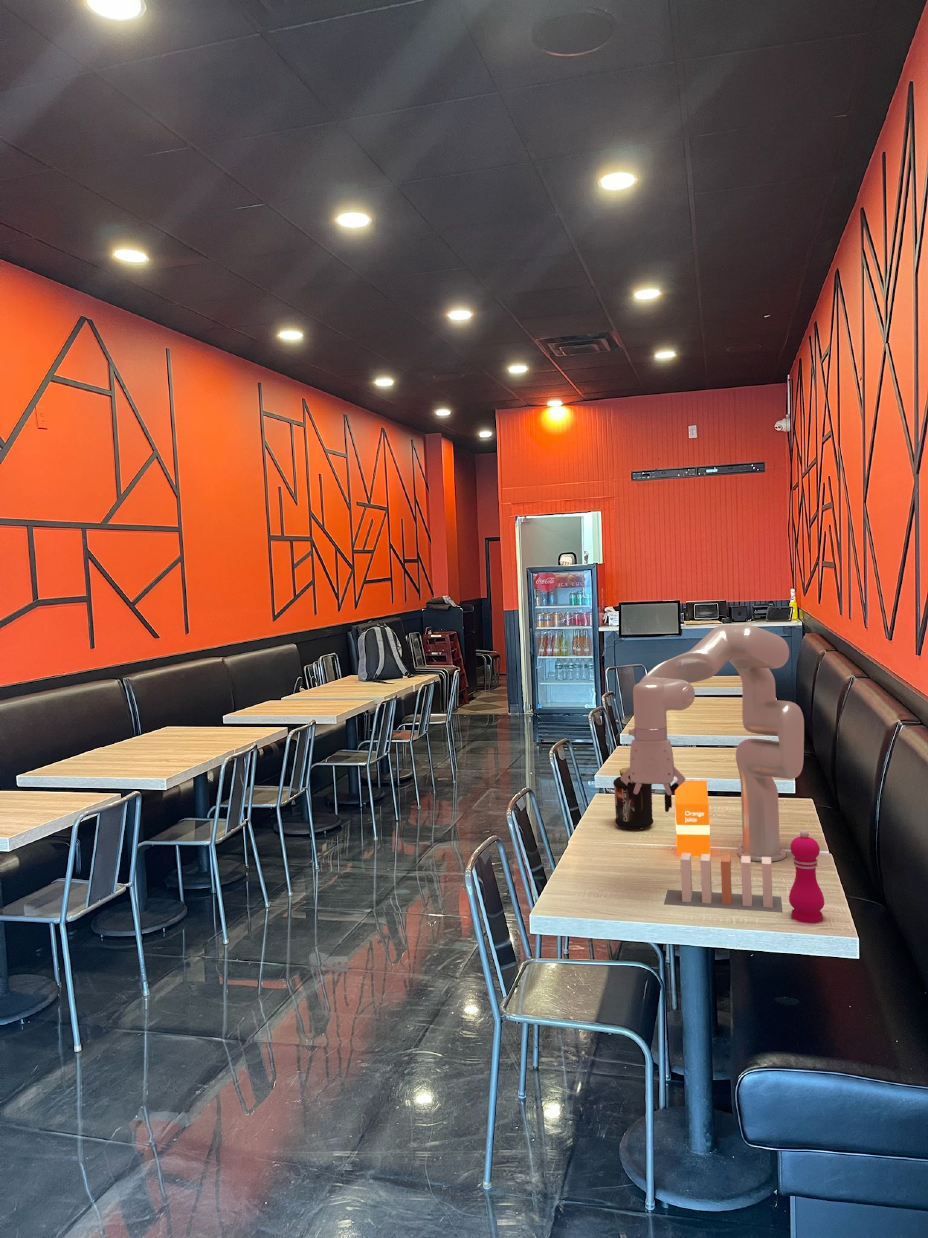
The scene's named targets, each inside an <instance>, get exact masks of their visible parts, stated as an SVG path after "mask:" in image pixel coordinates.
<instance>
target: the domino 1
mask: <svg viewBox="0 0 928 1238" xmlns="http://www.w3.org/2000/svg"><path fill="white" fill-rule="evenodd" d="M692 876H693V875H692V856H691V853H682V856H680V879H681V880H680V881H681V882H680V883H681V890H682V902H691V900H692V891H693V877H692Z"/></svg>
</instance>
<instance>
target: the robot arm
mask: <svg viewBox="0 0 928 1238" xmlns="http://www.w3.org/2000/svg"><path fill="white" fill-rule="evenodd" d="M789 657H790V649H789V645H788V643H787V640H785V639H784V638H783V637H782V636H780V635H778V634H775V633H773V632H770V631H769V630H765V629H763V628H761V627H758V626H755V625H748V624H734V625H733V624H724V625H723V624H722V625H718V626H716V627H714V628H713V629H712V630H711V631H710V632H708V633H707V634H706V635H705V636H704V637H703V638H702V639H701V640H699V642H698V643H696V645H694V646H693V647H692V648H691V649H690V650H688V651H686V652H684V653H682V654H679V655H676V656H674V657H673V658H670V659H668V660H664V661H663V662H660V663H659V664H657V665H656V666H654V667H653V668H652V669H650V671H648V672H647V673H646V674H645V675H644V676H643V677H642V678H641V680H639V682H638V683H635V684H634V686H633V689H632V692H633V693H632V694H633V695H632V698H633V700H632V701H633V720H634V721H633V722H634V727H633V728H632V729H628V736H633V738H634V739H632V740H631V743H630V752H629V768H628V767H627V768H628V770H627V771H626V772H625V773H624V774H623V775H622V776H621V775H620V777H621V778H620V779H621V781H623V782H624V783H625V784H626V785H627V786H628V787H629V788H630V789H631V790H632V791H633V792H634V794H635V803H636V807H638V811H642V808H643V799H642V792H641V790H640V788H641V785H642V784H652V785H663V788H664V790H665V794H664V811H665V812H666V813H669V811H670V809H671V808H672V807H673V801H672V799H673V798H672V794H673V793H675V790H676V789H677V788H678V787H679V786H680V785H681V784H683V783H684V782H685V781H686V777H685V776H684V775H683V774H682V773H681V772H680V771H679V769H677V768H676V766H675V761H674V754H673V748H672V742H671V740H670V739H668V724H667V712H668V711H683V710H686V709H688V708H689V707H690V706H692V704H693V703H694V701H695V697H696V692H695V688H694V686H693V685H692V684H691V683H697V682H701V681H705V680H709V679H710V678H713V677H714V676H715V675H716V674H717V673H718V672H719V671H720V670H721V669H722V668H723V667H724V666H725V665H726V664H727V663H728V662H729V663H730V664H731V665H732V666H733V667H734V668H735V670H736V671H737V673H738V675H739V677H740V681H741V683H742V685H741V687H742V688H741V689H742V697H741V698H742V703H741V704H742V706H741V708H742V709H741V710H742V711H741V713H742V715H741V718H742V719H741V720H742V725H743V728H744V730H745V731H747V732H749V733H752V734H756V735H763V736H771V737H772V736H773V737H778V741H777V740H772V739H763V738H747V739H744V740H741V742H740V743H739V744H738V745H737V747H736V751H735V761H736V766H737V768H738V774H739V780H740V793H741V794H740V795H741V796H740V797H741V798H740V799H741V800H740V801H741V803H740V805H741V827H742V829H741V830H742V831H741V832H742V833H741V834H742V845H740V846H739V847H737V850H736V851H737V855H738V857H740V858H741V856H750V858H751V861H753V862H762V857H771V862H778V861H781V860H785V858H786V857H787V851H786V850H785V849H784V848H782V847H781V842H780V841H781V838H780V837H781V836H780V835H781V834H780V811H779V792H778V791H779V789H778V787H777V785H776V782H775V780H774V779H773V778H778V779H786V780H793V779H796V778H799V776H800V775H801V773H802V771H803V766H804V757H805V756H804V753H805V749H804V748H805V747H804V746H805V744H804V743H805V718H804V714H803V712H802V709H801V707H800V706H799V705H798V704H796V703H795V702H792V701H789V700H788V701H787V700H777V695H776V692H777V691H776V679H775V677H774V674H773V673H772V671H771V669H774V670H775V669H780V668H782V667H783V666H785V664H786V663H788V660H789ZM629 775H630V779H631V781H630V780H629V778H628V776H629ZM674 778H676V779H677V780H674ZM673 781H674V783H673ZM675 781H676V782H675ZM633 782H634V783H636V785H635V784H634V783H633ZM671 783H673V784H671Z"/></svg>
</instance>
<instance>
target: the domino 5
mask: <svg viewBox="0 0 928 1238" xmlns="http://www.w3.org/2000/svg"><path fill="white" fill-rule="evenodd" d="M772 871H773V870H772V861H771V857H762V861H761V873H762V895H763V906H764V907H770V908H773V898H772V896H773V874H772Z"/></svg>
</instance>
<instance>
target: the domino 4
mask: <svg viewBox="0 0 928 1238" xmlns="http://www.w3.org/2000/svg"><path fill="white" fill-rule="evenodd" d="M740 858H741V861H740V866H741V894H742V898H743V906H752V895H753V891H752V887H753V886H752V866H751V865H752V863H751V862H752V860H751V858H750V856H741V857H740Z"/></svg>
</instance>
